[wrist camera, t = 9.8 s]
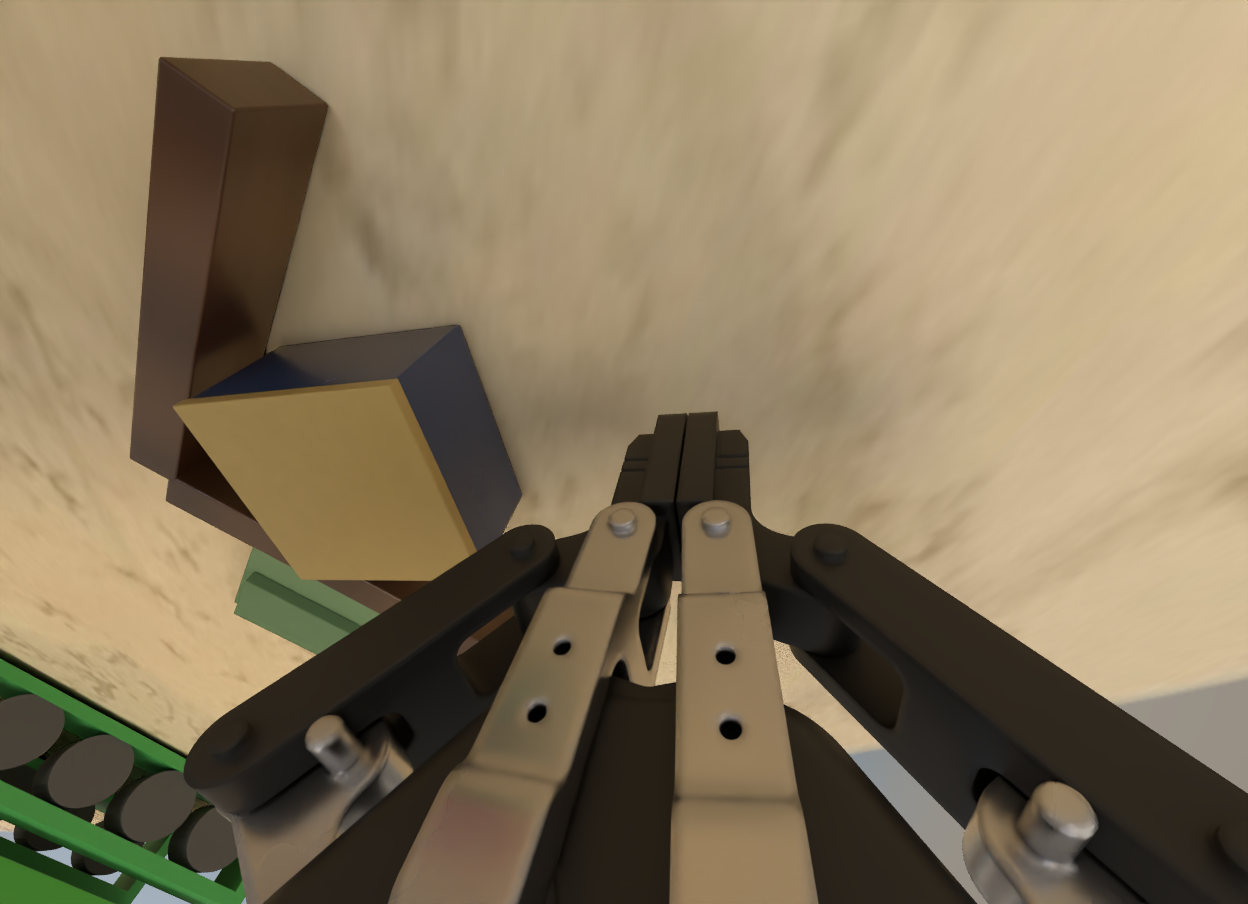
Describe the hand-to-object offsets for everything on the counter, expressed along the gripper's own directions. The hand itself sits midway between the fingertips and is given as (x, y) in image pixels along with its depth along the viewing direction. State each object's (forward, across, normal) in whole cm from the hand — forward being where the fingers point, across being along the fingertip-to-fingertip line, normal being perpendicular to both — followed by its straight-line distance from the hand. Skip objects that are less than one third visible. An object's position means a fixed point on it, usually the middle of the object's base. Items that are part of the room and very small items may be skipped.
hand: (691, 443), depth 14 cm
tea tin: (+2, +10, 0) cm, 10 cm away
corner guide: (+2, +13, 0) cm, 13 cm away
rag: (+2, +17, +10) cm, 20 cm away
